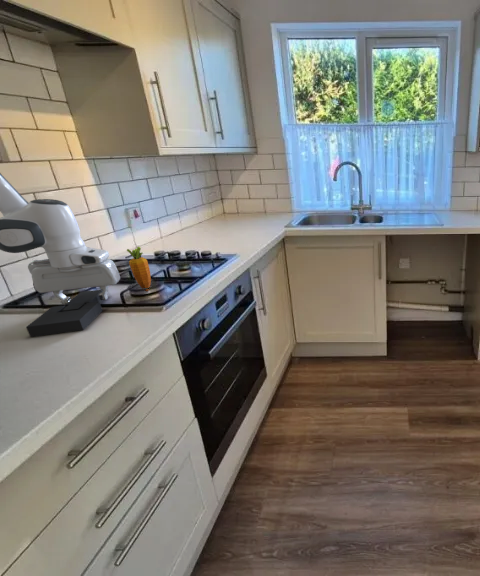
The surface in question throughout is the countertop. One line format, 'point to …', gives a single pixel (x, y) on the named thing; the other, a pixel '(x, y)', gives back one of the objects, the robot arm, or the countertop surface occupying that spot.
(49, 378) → the countertop surface
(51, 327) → the notch pad
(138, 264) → the carrot
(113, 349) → the countertop surface
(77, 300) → the pad
